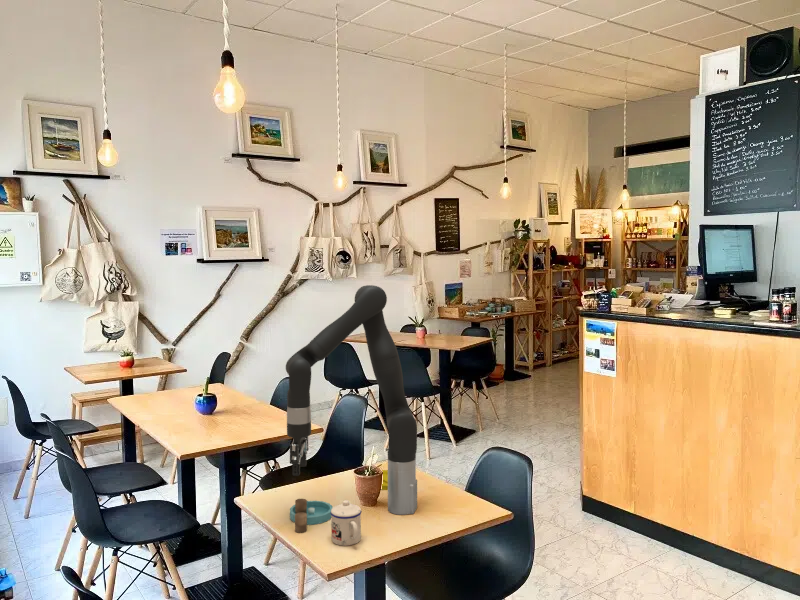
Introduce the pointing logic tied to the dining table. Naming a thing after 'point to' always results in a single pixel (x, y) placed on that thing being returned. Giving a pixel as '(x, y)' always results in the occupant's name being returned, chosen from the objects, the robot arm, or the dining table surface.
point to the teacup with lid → (346, 524)
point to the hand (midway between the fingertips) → (299, 470)
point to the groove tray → (315, 512)
